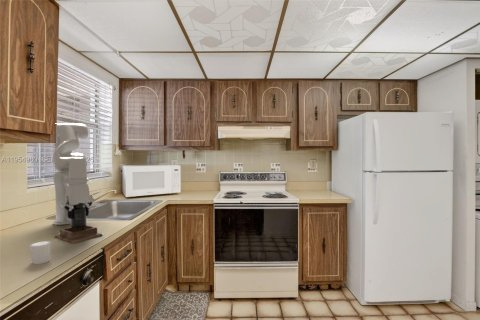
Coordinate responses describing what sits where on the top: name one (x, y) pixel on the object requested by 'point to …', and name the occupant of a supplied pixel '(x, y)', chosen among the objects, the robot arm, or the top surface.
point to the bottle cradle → (78, 234)
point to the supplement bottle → (78, 216)
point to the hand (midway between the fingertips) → (78, 216)
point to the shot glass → (40, 252)
